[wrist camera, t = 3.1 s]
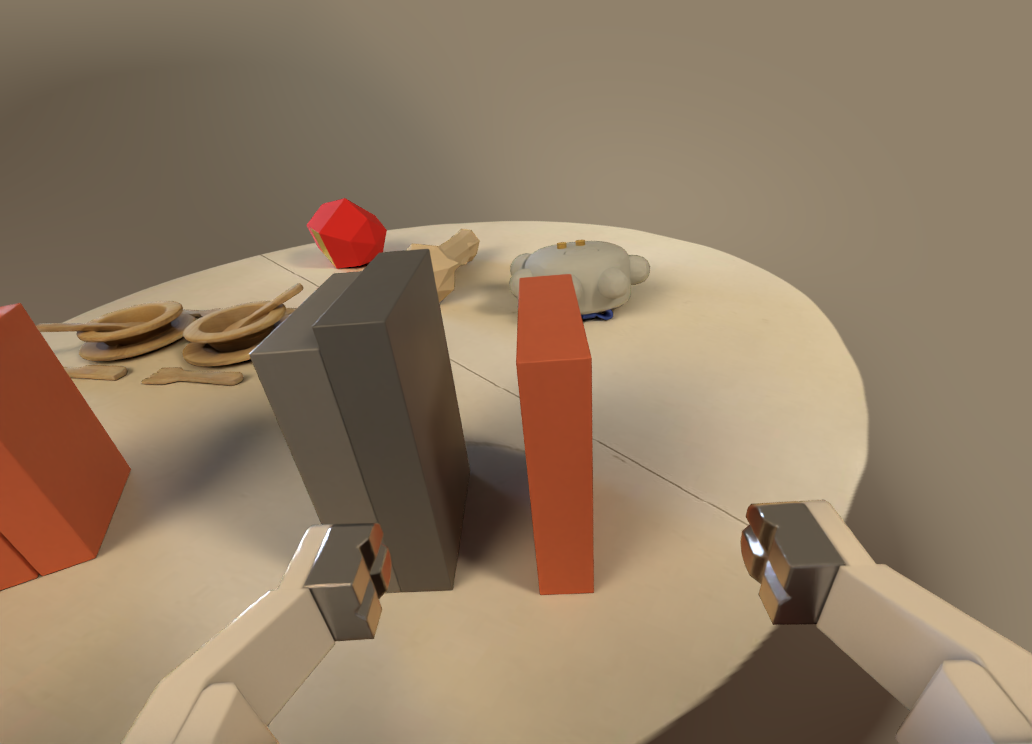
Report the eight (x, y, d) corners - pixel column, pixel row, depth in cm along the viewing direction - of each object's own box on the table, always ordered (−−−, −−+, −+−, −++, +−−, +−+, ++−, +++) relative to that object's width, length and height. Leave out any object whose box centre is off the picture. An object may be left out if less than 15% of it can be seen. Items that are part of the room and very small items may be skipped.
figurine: (670, 319, 54) (617, 279, 72) (673, 242, 50) (616, 221, 69) (520, 339, 53) (504, 294, 71) (511, 263, 49) (497, 236, 68)
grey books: (452, 590, 27) (385, 320, 19) (350, 594, 28) (238, 332, 19) (470, 470, 36) (429, 247, 27) (392, 474, 36) (327, 256, 28)
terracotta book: (594, 593, 26) (591, 357, 19) (539, 595, 26) (516, 362, 19) (577, 469, 35) (571, 273, 27) (536, 471, 35) (519, 277, 27)
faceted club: (383, 307, 64) (444, 257, 85) (443, 323, 63) (490, 269, 85) (387, 242, 59) (450, 207, 81) (452, 259, 59) (498, 219, 80)
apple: (348, 285, 80) (292, 257, 86) (401, 267, 89) (346, 243, 95) (343, 214, 73) (282, 190, 79) (400, 202, 82) (342, 181, 88)
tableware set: (335, 312, 66) (322, 271, 63) (237, 388, 50) (214, 338, 47) (163, 312, 73) (144, 274, 70) (27, 379, 57) (-6, 334, 54)
